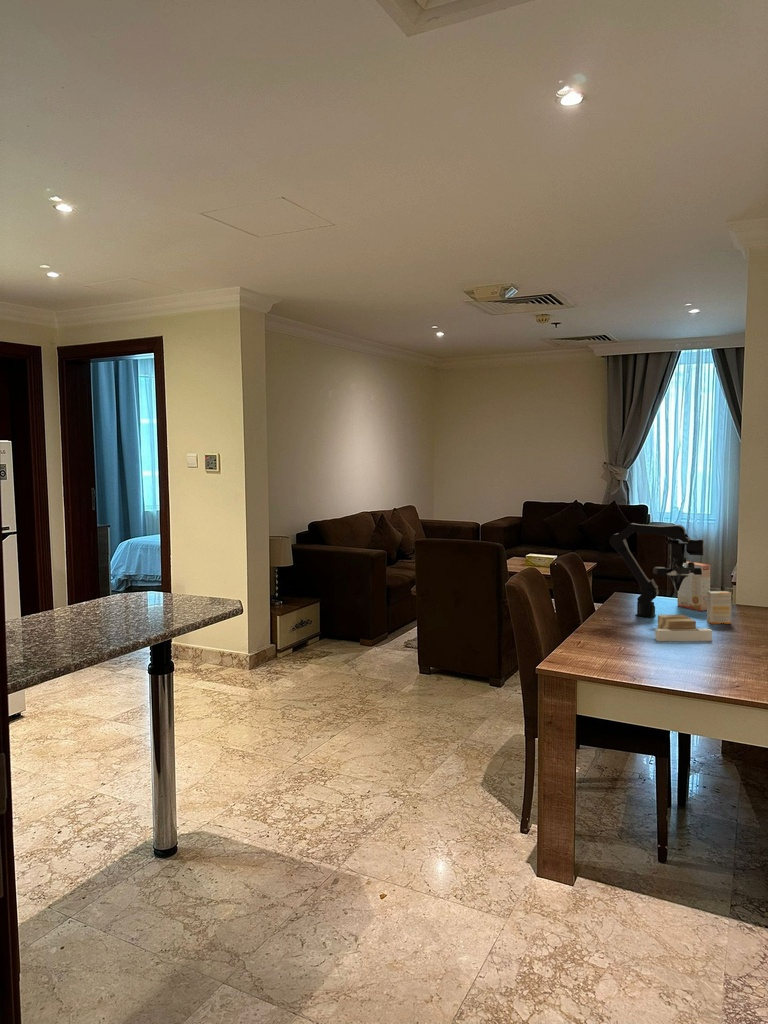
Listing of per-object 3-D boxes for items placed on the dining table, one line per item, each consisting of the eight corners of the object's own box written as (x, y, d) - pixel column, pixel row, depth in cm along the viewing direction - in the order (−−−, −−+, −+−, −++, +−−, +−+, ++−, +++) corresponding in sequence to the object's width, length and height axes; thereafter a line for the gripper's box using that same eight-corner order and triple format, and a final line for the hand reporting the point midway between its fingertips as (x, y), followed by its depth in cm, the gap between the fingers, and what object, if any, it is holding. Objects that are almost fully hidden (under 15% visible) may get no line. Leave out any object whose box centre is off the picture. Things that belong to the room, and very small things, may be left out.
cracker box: (710, 610, 321) (711, 564, 320) (700, 611, 319) (701, 565, 317) (686, 605, 334) (687, 560, 333) (676, 606, 332) (677, 561, 330)
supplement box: (726, 621, 299) (727, 590, 298) (731, 624, 294) (731, 592, 293) (706, 621, 300) (706, 590, 299) (710, 624, 295) (711, 592, 294)
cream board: (655, 639, 271) (655, 628, 271) (708, 638, 271) (708, 627, 270) (657, 641, 268) (658, 629, 268) (711, 640, 267) (712, 629, 267)
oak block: (657, 632, 283) (657, 614, 283) (683, 632, 283) (683, 614, 282) (668, 639, 271) (669, 621, 271) (695, 639, 271) (695, 621, 270)
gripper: (662, 557, 296) (661, 594, 297) (707, 556, 295) (707, 594, 297) (652, 553, 307) (652, 589, 308) (696, 553, 307) (696, 589, 308)
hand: (677, 590), depth 305 cm, fingers closed
